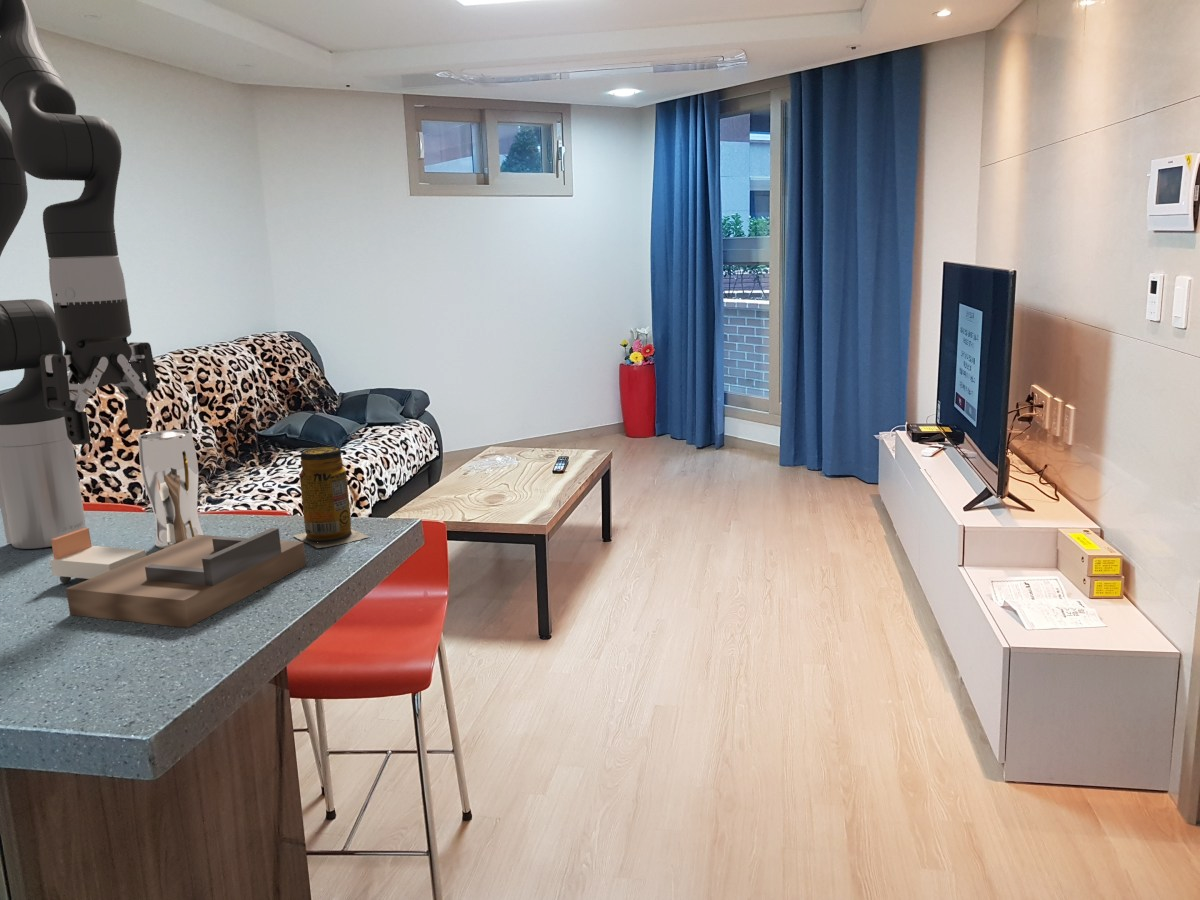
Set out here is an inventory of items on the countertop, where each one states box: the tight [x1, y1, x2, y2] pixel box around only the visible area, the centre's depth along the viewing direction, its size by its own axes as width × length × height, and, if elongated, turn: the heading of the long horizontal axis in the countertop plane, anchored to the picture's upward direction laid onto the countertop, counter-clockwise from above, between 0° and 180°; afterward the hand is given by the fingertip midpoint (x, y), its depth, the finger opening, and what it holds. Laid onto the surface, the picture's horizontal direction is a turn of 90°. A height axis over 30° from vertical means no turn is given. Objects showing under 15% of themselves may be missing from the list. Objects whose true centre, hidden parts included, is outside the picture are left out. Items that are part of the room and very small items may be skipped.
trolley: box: [49, 527, 147, 584], centre depth 113 cm, size 9×6×6 cm, turn 71°
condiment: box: [292, 446, 370, 549], centre depth 126 cm, size 7×8×12 cm
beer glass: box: [137, 429, 204, 549], centre depth 126 cm, size 7×7×15 cm
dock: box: [65, 527, 307, 629], centre depth 108 cm, size 16×20×6 cm
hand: (110, 436), depth 111 cm, fingers open, 8 cm apart
